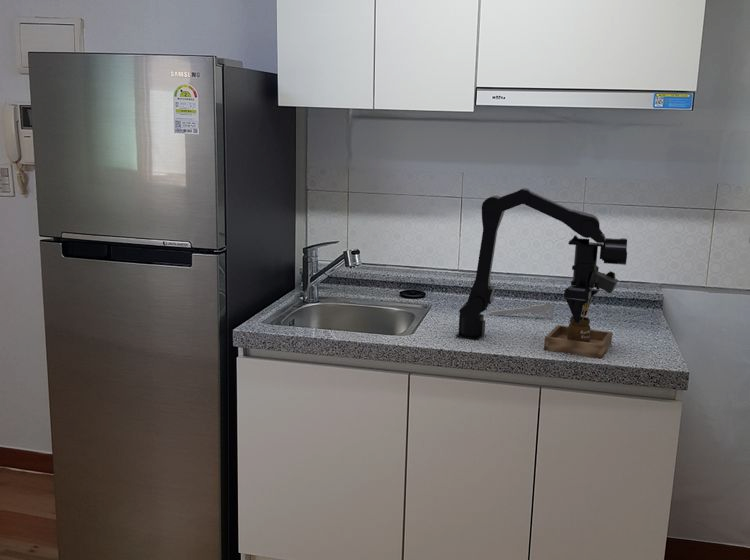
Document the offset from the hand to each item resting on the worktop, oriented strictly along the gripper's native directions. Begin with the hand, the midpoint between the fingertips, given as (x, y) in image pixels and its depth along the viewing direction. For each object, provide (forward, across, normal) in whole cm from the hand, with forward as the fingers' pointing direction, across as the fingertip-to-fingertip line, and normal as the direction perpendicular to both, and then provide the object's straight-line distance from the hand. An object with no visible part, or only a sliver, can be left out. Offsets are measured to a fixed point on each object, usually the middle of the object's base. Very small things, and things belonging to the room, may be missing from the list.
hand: (580, 319), depth 197 cm
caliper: (+8, +25, +23) cm, 35 cm away
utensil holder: (+7, 0, 0) cm, 7 cm away
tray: (+8, 0, 0) cm, 8 cm away
